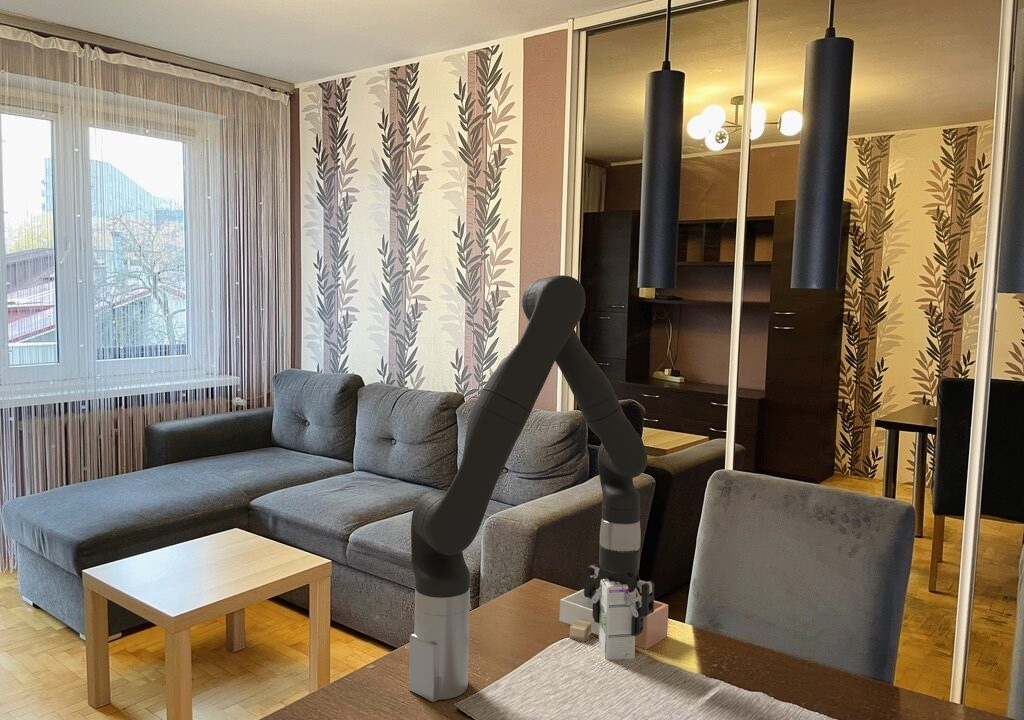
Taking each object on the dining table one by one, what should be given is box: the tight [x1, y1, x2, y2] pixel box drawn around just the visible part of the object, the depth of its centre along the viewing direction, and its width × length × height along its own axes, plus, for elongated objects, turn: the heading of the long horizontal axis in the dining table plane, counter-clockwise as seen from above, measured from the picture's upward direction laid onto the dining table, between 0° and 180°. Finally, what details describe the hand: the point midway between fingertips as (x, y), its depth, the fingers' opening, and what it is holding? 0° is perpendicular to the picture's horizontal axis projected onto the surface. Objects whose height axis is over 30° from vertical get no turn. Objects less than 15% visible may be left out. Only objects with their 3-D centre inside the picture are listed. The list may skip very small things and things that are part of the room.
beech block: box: [569, 620, 592, 642], centre depth 146 cm, size 4×3×3 cm
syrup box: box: [598, 579, 636, 661], centre depth 139 cm, size 6×6×14 cm
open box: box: [635, 595, 669, 650], centre depth 146 cm, size 8×8×7 cm
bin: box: [558, 588, 599, 636], centre depth 154 cm, size 10×10×5 cm
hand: (617, 628), depth 139 cm, fingers closed on syrup box, 8 cm apart
